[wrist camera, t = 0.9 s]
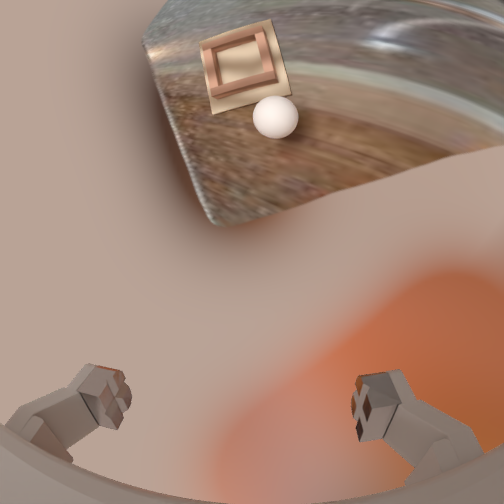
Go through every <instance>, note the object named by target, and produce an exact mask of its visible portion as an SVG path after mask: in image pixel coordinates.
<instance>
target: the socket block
mask: <svg viewBox="0 0 504 504" xmlns="http://www.w3.org/2000/svg"><path fill="white" fill-rule="evenodd" d="M199 47H200V52H201V57H202V63H203V68H204V73H205V79H206V84H207V89H208V95H209V100H210V105H211V110H212V115H216V114H219V113H222V112H226V111H229V110H233V109H236V108H240V107H243V106H247V105H251V104H255V103H259V102H260V101H261V100H262V99H264V98H266V97H269V96H281V97H285V96H290V95H292V94H291V90H290V86H289V82H288V78H287V74H286V70H285V66H284V63H283V59H282V55H281V52H280V48H279V45H278V41H277V38H276V34H275V31H274V28H273V25H272V21H271V19H269V20H265V21H261V22H257V23H254V24H250V25H247V26H243V27H240V28H237V29H234V30H231V31H228V32H225V33H222V34H219V35H216V36H214V37H211V38H208V39H206V40H203V41H201V42H199Z"/></svg>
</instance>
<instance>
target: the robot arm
mask: <svg viewBox="0 0 504 504" xmlns="http://www.w3.org/2000/svg"><path fill="white" fill-rule="evenodd" d="M124 380H125V376H124V374H123V372H122V371H120V370H117V369H112V368H107V367H103V366H97V365H93V364H86V365H84V367H83V368H82V369H81V371H80V372H79V373H78V374H77V375H76V377H75V378H74V379H73V380H72V382H71V383H70V384H69V385H68V387H67V388H61V389H59V390H57V391H54V392H52V393H50V394H48V395H46V396H43V397H41V398H39V399H37V400H34V401H32V402H30V403H27V404H25V405H23V406H21V407H19V408H18V410H17V411H16V412H15V413H14V415H13V416H12V417H11V418H10V419H9V421H8V422H7V423H6V424H5V426H4V425H2V424H1V423H0V504H226V503H215V502H207V501H200V500H193V499H187V498H181V497H176V496H171V495H166V494H162V493H157V492H153V491H149V490H145V489H142V488H138V487H134V486H131V485H128V484H125V483H121V482H118V481H115V480H112V479H109V478H106V477H104V476H101V475H98V474H96V473H93V472H91V471H88V470H86V469H83V468H81V467H79V466H76V465H74V464H72V462H73V457H72V456H71V455H70V454H69V453H68V451H67V450H66V449H68V448H69V447H71V446H72V445H73V444H75V443H76V442H78V441H79V440H81V439H82V438H83V437H85V436H86V435H88V434H89V433H91V432H92V431H94V430H95V429H96V428H98V427H99V426H103V427H106V428H110V429H115V430H118V428H119V426H120V424H121V422H122V421H123V418H124V417H123V412H125V411H127V410H128V409H129V407H130V405H131V399H132V394H131V390H130V388H129V386H128V385H127V384H126V383H125V382H124ZM355 385H356V388H357V390H356V391H355V392H354V393H353V396H352V399H351V410H352V415H353V418H354V419H355V420H357V421H358V422H357V425H356V431H357V435H358V439H359V442H364V441H371V440H377V439H382V438H383V440H384V441H385V442H386V443H387V444H388V445H389V446H390V447H392V448H393V449H394V450H395V451H396V452H397V453H398V454H399V455H401V456H402V457H403V458H404V459H405V460H406V461H407V462H408V463H410V464H411V465H412V466H413V467H414V468H415V469H414V470H413V471H412V473H411V474H410V475H409V476H408V477H407V479H406V480H405V485H406V486H403V487H400V488H396V489H393V490H389V491H385V492H381V493H377V494H372V495H367V496H362V497H358V498H351V499H345V500H339V501H331V502H323V503H313V504H504V443H503V444H501V445H499V446H498V447H496V448H494V449H492V450H490V451H489V452H487V453H485V454H484V452H483V450H482V448H481V446H480V445H479V443H478V441H477V439H476V437H475V435H474V434H473V431H472V430H471V428H470V427H469V426H467V425H465V424H463V423H461V422H459V421H457V420H455V419H454V418H452V417H450V416H448V415H447V414H445V413H443V412H441V411H440V410H438V409H436V408H434V407H433V406H431V405H429V404H427V403H426V402H424V401H422V400H416V398H415V396H414V394H413V392H412V390H411V388H410V386H409V384H408V382H407V380H406V379H405V377H404V375H403V373H402V371H401V370H400V369H397V370H392V371H386V372H380V373H373V374H366V375H359V376H358V377H357V379H356V382H355ZM98 425H99V426H98Z"/></svg>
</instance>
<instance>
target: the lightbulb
mask: <svg viewBox="0 0 504 504" xmlns="http://www.w3.org/2000/svg"><path fill="white" fill-rule="evenodd" d="M253 121H254V125H255V126H256V128H257V130H258V131H259V132H260V133H261V134H263V135H264V136H266V137H269V138H275V139H277V138H283V137H286V136H287V135H289V134H290V133H292V132H293V130H294V129H295V128H296V126H297V123H298V112H297V109H296V107H295V106H294V104H293V103H292V102H291V101H290V100H288V99H287V98H284V97H281V96H269V97H266V98H264V99H262V100H261V101H260V102H259V103H258V104H257V105H256V107H255V109H254V112H253Z"/></svg>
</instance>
